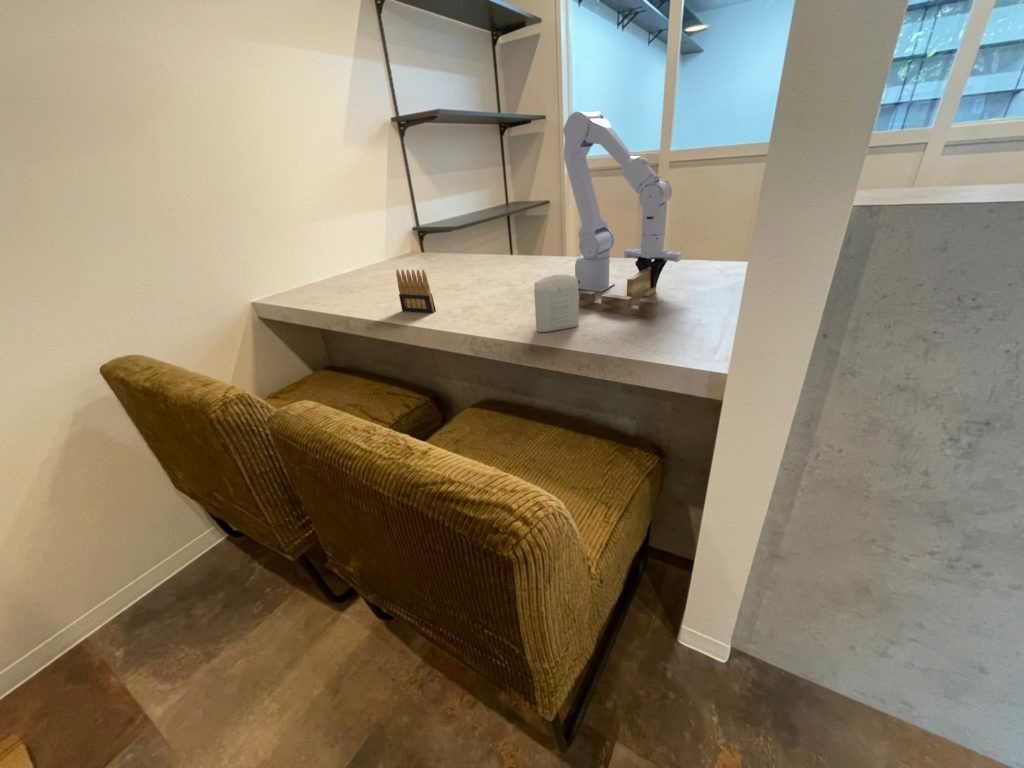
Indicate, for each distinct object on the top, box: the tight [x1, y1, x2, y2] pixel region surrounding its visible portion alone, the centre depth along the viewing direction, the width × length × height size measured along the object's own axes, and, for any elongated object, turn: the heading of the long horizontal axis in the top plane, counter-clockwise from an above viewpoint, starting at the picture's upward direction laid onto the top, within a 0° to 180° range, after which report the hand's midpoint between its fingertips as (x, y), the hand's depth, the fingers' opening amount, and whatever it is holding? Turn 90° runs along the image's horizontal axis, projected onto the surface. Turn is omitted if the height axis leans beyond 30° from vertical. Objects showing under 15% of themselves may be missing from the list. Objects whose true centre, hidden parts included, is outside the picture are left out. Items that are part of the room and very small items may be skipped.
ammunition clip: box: [395, 269, 437, 314], centre depth 116 cm, size 11×2×12 cm, turn 65°
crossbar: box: [626, 266, 657, 306], centre depth 108 cm, size 2×14×7 cm, turn 139°
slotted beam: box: [578, 289, 659, 321], centre depth 102 cm, size 20×2×4 cm, turn 49°
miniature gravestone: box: [533, 274, 580, 333], centre depth 95 cm, size 10×4×12 cm, turn 103°
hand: (649, 286), depth 112 cm, fingers closed on crossbar, 2 cm apart
